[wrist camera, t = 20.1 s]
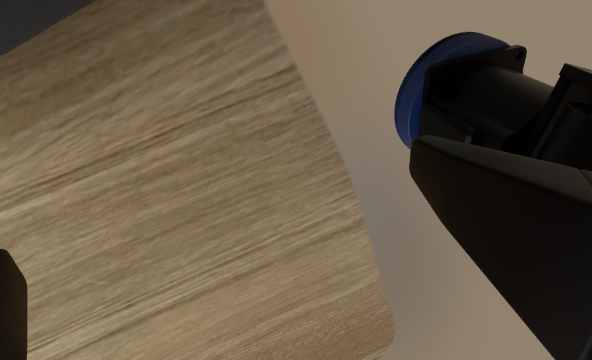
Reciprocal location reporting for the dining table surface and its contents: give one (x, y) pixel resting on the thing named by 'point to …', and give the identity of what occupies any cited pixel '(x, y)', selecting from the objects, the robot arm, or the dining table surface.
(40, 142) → the dining table surface
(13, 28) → the charcoal riser
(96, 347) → the dining table surface
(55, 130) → the dining table surface
